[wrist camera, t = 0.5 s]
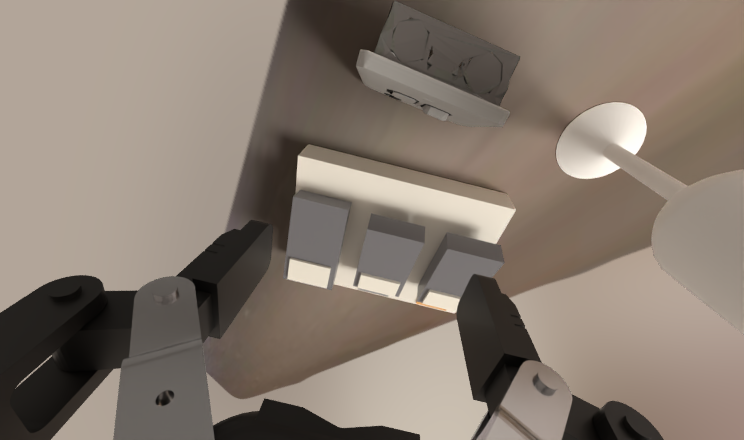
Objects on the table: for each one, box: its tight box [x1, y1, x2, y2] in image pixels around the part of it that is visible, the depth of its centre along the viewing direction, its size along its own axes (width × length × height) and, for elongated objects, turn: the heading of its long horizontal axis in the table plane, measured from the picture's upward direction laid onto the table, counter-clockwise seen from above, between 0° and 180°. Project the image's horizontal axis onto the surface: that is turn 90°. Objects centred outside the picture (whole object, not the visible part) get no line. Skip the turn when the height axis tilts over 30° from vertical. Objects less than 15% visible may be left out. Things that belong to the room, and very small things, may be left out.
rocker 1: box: [283, 190, 352, 290], centre depth 28 cm, size 9×5×2 cm, turn 168°
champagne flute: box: [556, 102, 744, 335], centre depth 15 cm, size 7×7×24 cm
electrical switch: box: [356, 1, 520, 127], centre depth 20 cm, size 9×5×9 cm, turn 70°
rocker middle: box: [353, 213, 425, 297], centre depth 28 cm, size 9×5×2 cm, turn 168°
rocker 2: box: [417, 232, 504, 312], centre depth 28 cm, size 9×5×2 cm, turn 169°
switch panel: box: [295, 144, 516, 313], centre depth 31 cm, size 15×20×4 cm
